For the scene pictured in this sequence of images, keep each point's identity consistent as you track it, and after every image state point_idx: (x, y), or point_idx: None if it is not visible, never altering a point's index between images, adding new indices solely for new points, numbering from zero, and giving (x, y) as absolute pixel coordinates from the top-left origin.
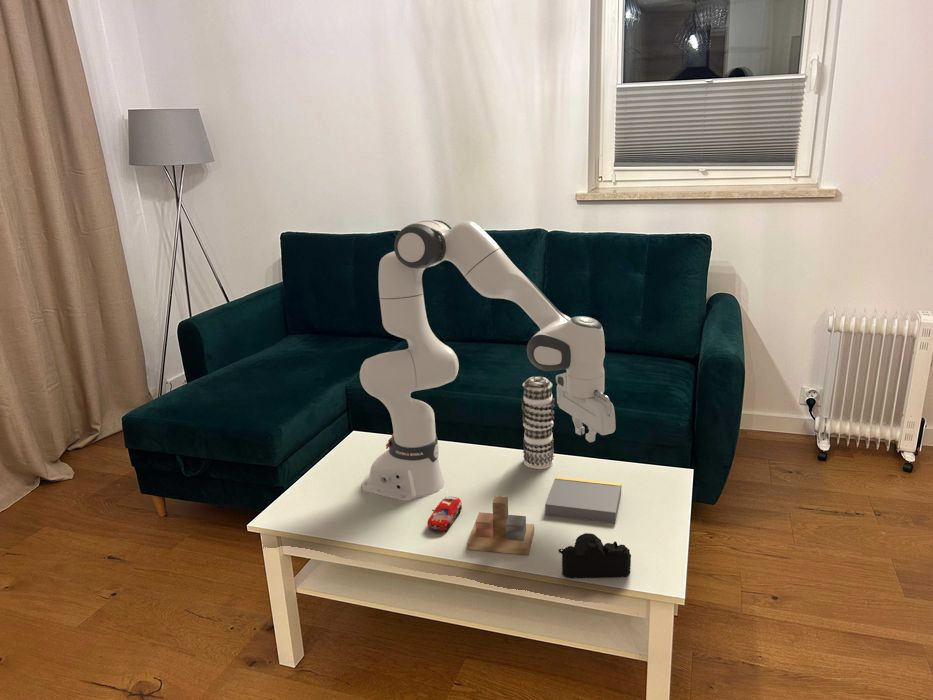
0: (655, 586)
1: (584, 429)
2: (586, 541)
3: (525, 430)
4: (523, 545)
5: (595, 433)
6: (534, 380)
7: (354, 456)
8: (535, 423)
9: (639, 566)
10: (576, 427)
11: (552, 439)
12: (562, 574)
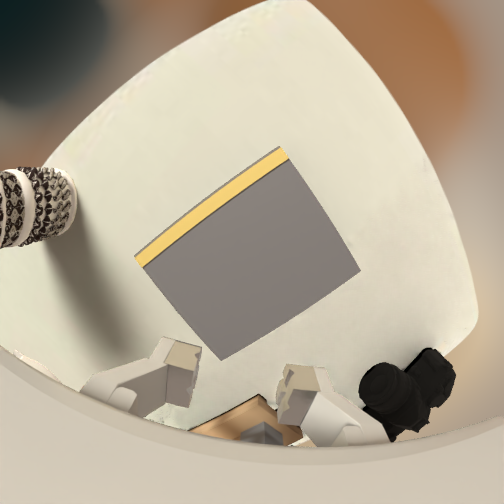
0: (461, 333)
1: (196, 362)
2: (408, 427)
3: None
4: (290, 438)
5: (345, 404)
6: None
7: None
8: None
9: (436, 322)
10: (163, 402)
11: (29, 176)
12: None
